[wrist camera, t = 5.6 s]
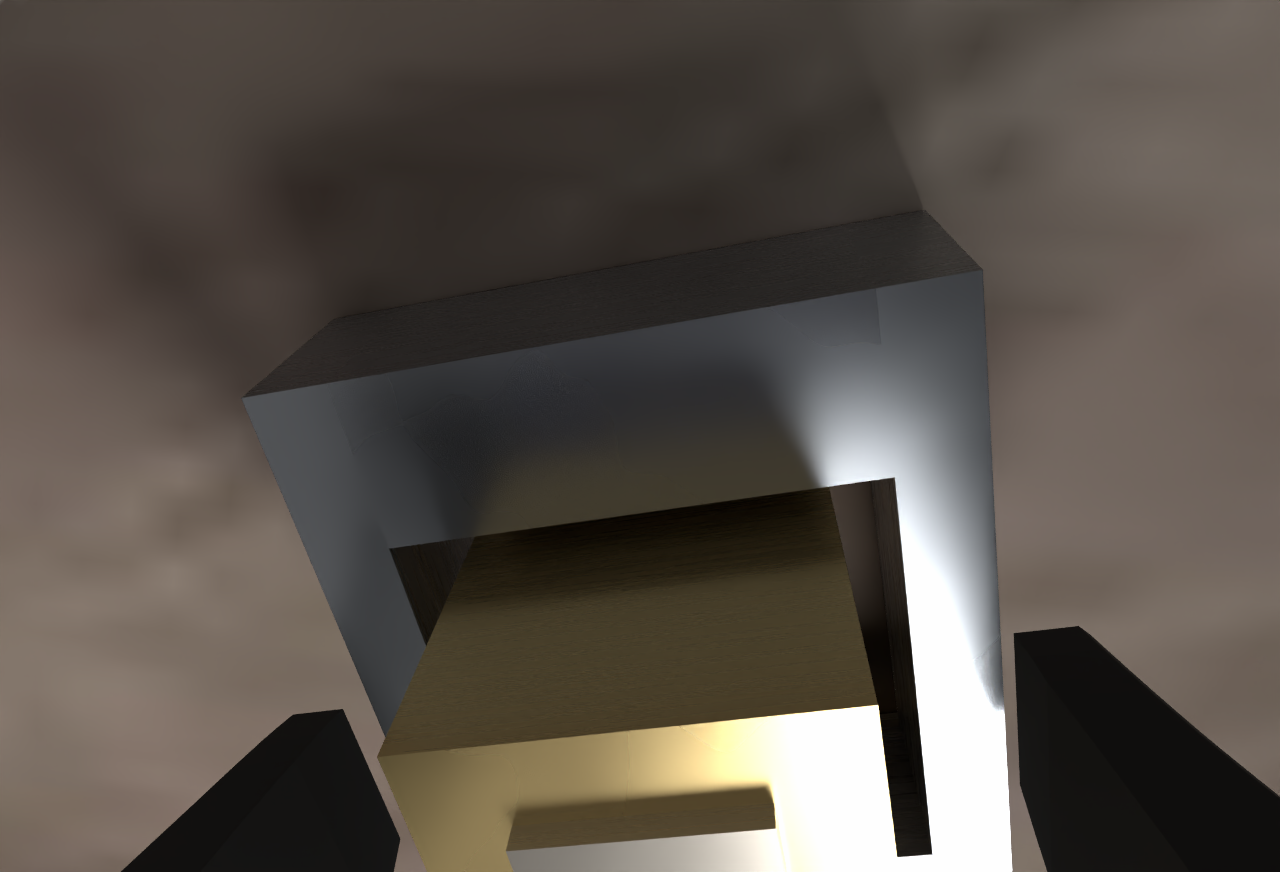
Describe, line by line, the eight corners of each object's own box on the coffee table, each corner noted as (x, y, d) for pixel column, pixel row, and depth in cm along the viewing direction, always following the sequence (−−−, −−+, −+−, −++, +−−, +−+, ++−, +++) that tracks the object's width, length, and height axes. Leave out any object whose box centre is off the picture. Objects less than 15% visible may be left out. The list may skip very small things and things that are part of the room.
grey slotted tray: (991, 1111, 17) (1031, 1273, 15) (626, 1124, 18) (614, 1276, 16) (926, 209, 10) (981, 269, 8) (334, 318, 11) (240, 399, 9)
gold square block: (849, 672, 13) (925, 1063, 8) (576, 702, 14) (502, 1081, 9) (814, 420, 11) (883, 729, 7) (505, 468, 12) (366, 781, 7)
